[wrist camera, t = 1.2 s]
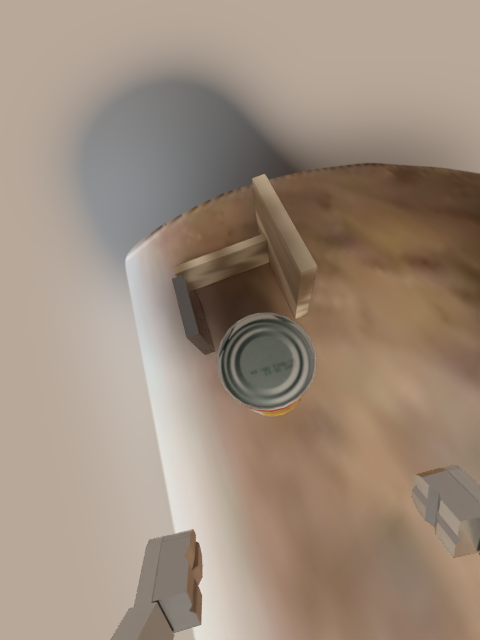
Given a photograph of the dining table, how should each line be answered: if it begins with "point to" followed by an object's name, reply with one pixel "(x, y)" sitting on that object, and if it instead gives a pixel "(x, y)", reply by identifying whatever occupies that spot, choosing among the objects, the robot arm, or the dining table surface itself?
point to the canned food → (266, 363)
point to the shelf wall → (262, 253)
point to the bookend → (192, 316)
